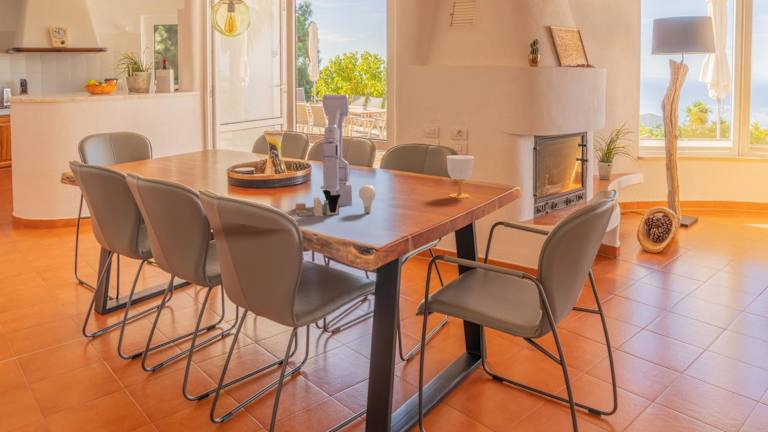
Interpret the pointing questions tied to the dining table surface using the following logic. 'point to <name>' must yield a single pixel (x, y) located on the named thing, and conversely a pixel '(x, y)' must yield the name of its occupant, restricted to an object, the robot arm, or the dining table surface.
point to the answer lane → (300, 210)
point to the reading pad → (305, 214)
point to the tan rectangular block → (317, 207)
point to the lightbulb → (367, 197)
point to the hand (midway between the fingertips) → (331, 210)
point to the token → (300, 206)
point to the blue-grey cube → (327, 211)
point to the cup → (460, 170)
